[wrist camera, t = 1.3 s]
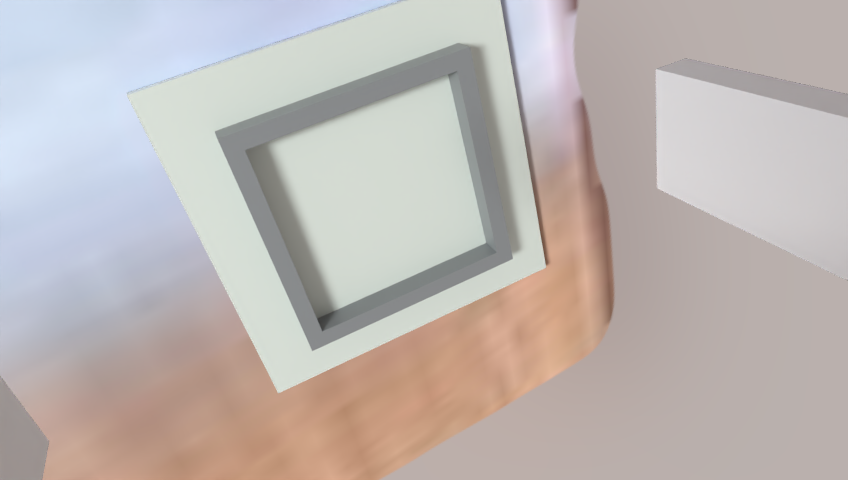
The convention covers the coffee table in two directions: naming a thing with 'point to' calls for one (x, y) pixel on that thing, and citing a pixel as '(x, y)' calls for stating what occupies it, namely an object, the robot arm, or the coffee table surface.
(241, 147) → the square seat
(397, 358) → the coffee table surface
